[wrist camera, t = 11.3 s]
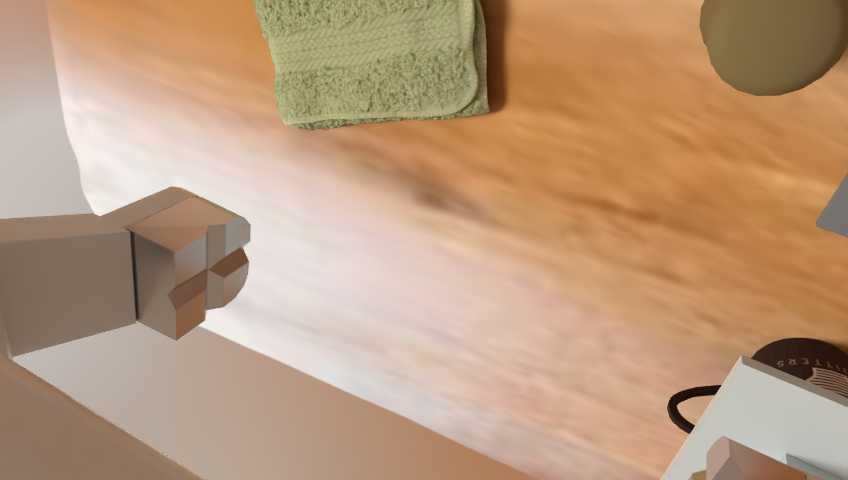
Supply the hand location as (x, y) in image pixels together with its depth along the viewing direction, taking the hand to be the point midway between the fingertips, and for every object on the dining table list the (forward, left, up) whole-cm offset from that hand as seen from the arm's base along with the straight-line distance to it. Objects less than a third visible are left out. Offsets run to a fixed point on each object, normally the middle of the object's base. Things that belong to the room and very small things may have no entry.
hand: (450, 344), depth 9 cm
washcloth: (+18, +3, -32) cm, 37 cm away
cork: (-5, -4, -31) cm, 32 cm away
